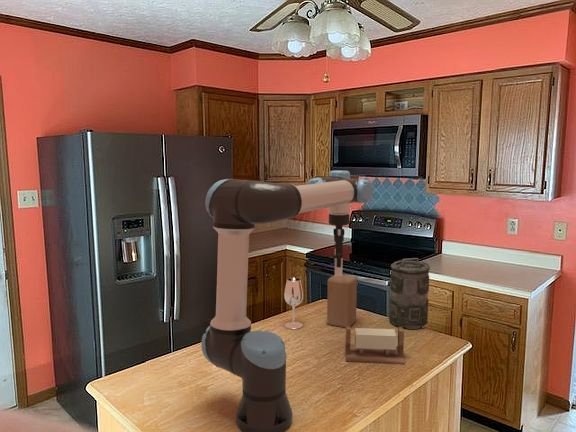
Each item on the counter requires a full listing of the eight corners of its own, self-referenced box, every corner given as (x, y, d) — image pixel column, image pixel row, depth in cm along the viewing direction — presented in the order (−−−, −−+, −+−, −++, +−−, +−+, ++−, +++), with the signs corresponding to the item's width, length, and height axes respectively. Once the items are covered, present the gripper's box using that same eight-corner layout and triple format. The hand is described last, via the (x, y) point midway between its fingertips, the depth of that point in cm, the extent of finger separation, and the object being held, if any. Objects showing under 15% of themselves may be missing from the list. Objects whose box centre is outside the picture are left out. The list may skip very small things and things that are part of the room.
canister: (400, 331, 181) (403, 264, 177) (382, 317, 197) (384, 255, 192) (435, 327, 186) (438, 261, 182) (414, 314, 201) (417, 253, 197)
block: (326, 324, 189) (326, 278, 186) (335, 317, 198) (335, 272, 195) (348, 329, 184) (349, 281, 181) (356, 321, 193) (357, 275, 190)
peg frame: (405, 364, 154) (406, 336, 152) (346, 361, 156) (346, 334, 154) (399, 347, 167) (400, 322, 165) (345, 345, 169) (345, 320, 167)
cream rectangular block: (396, 349, 157) (396, 336, 156) (355, 348, 158) (356, 334, 158) (393, 342, 163) (394, 329, 162) (354, 341, 164) (355, 328, 164)
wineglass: (282, 328, 185) (281, 281, 183) (287, 321, 193) (287, 276, 190) (300, 330, 183) (300, 282, 180) (305, 323, 191) (305, 277, 188)
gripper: (350, 218, 150) (349, 280, 153) (348, 209, 174) (347, 262, 177) (328, 218, 150) (327, 280, 153) (329, 208, 175) (328, 262, 178)
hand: (338, 270), depth 165 cm, fingers open, 13 cm apart
